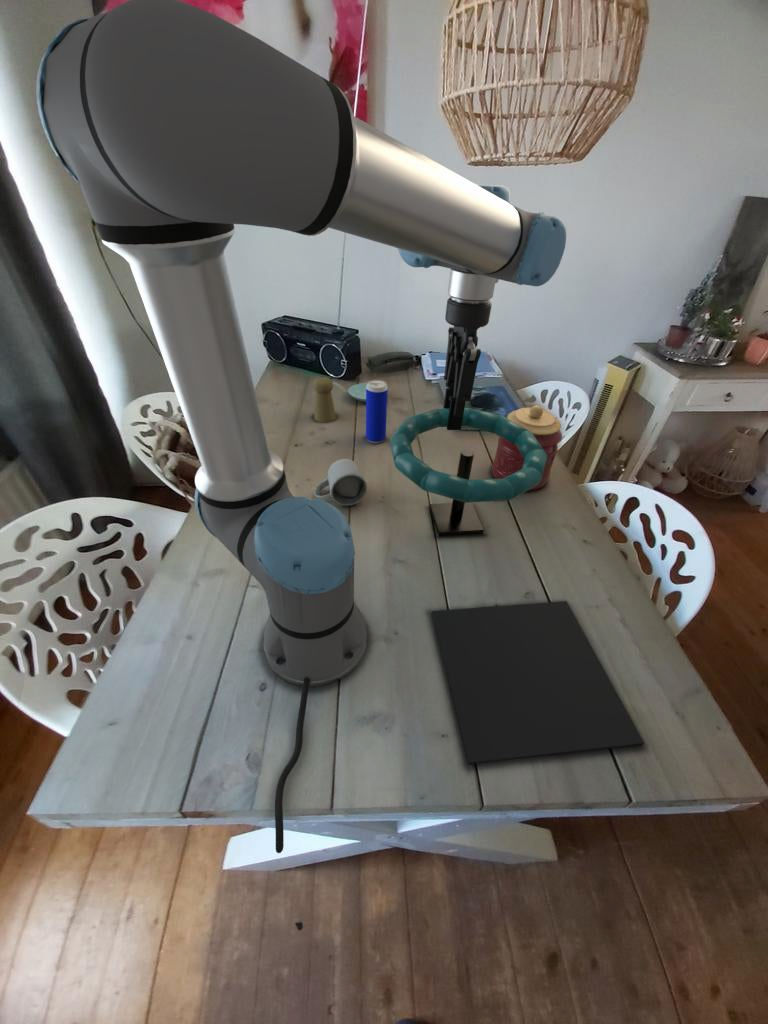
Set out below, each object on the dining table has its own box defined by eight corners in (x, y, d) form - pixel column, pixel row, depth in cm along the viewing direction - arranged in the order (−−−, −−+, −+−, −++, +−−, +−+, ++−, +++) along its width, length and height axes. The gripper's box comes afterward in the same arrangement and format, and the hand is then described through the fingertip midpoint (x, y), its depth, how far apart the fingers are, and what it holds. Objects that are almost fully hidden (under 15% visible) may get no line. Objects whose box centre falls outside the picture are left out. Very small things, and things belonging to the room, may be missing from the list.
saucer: (372, 386, 140) (372, 379, 139) (394, 400, 133) (395, 393, 131) (340, 395, 134) (340, 388, 133) (362, 409, 127) (362, 402, 126)
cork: (312, 413, 124) (309, 375, 118) (333, 411, 126) (331, 373, 119) (316, 423, 120) (313, 384, 113) (337, 420, 122) (336, 382, 115)
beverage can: (387, 435, 116) (390, 381, 106) (382, 445, 112) (384, 389, 103) (369, 432, 117) (369, 378, 107) (363, 442, 113) (363, 386, 103)
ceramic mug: (359, 481, 99) (358, 452, 94) (367, 503, 93) (367, 473, 88) (312, 488, 97) (309, 458, 92) (317, 510, 91) (314, 480, 86)
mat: (642, 745, 56) (644, 743, 56) (468, 764, 54) (468, 762, 53) (565, 603, 74) (566, 601, 74) (431, 613, 71) (431, 610, 71)
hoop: (567, 502, 71) (574, 485, 69) (402, 509, 68) (404, 491, 66) (512, 419, 92) (516, 404, 89) (383, 422, 89) (384, 406, 86)
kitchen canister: (489, 458, 109) (503, 391, 98) (542, 463, 108) (563, 395, 97) (493, 489, 99) (510, 417, 88) (552, 494, 98) (576, 423, 87)
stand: (483, 534, 87) (499, 465, 77) (438, 536, 86) (448, 467, 76) (470, 506, 94) (484, 439, 83) (429, 508, 93) (437, 440, 82)
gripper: (507, 312, 68) (480, 444, 83) (477, 287, 81) (459, 405, 96) (460, 311, 67) (441, 445, 82) (437, 286, 80) (425, 406, 95)
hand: (451, 423), depth 89 cm, fingers closed on hoop, 3 cm apart
